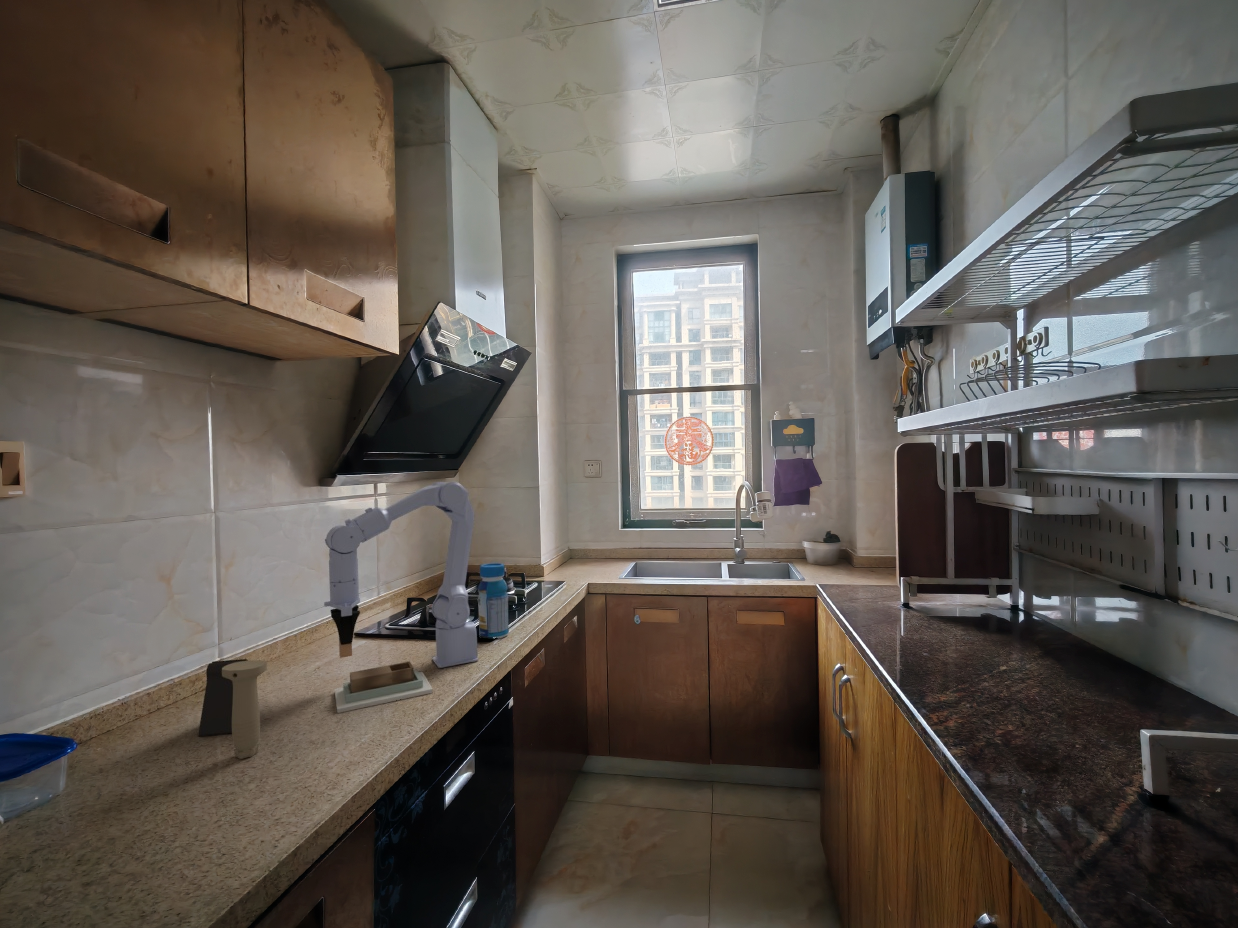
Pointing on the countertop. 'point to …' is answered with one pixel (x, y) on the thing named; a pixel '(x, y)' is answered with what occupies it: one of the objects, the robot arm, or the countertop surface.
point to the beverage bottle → (493, 601)
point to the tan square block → (345, 650)
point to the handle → (245, 705)
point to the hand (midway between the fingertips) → (346, 641)
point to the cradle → (381, 693)
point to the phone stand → (217, 701)
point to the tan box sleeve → (381, 677)
